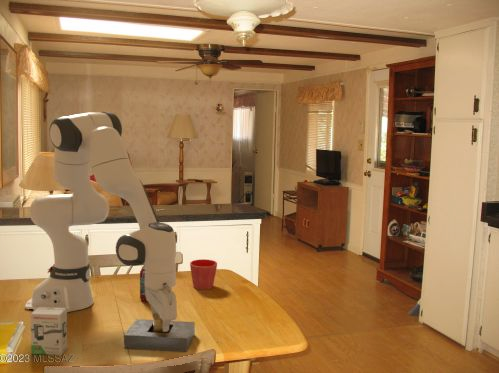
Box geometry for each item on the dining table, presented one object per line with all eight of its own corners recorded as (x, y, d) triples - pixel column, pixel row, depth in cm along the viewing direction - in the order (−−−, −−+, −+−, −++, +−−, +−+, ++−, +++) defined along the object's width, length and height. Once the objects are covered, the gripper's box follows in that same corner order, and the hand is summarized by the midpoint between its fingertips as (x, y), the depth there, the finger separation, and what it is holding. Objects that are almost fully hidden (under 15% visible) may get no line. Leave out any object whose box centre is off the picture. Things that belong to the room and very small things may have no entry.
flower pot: (222, 286, 201) (223, 262, 200) (202, 293, 193) (203, 268, 192) (204, 280, 208) (204, 257, 207) (184, 286, 200) (184, 262, 199)
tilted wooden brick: (154, 344, 147) (154, 319, 146) (153, 339, 151) (153, 314, 150) (168, 343, 148) (168, 318, 147) (166, 338, 152) (166, 313, 151)
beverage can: (136, 300, 183) (136, 268, 182) (146, 294, 190) (146, 263, 188) (152, 303, 181) (152, 270, 179) (162, 297, 187) (162, 265, 186)
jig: (124, 348, 144) (124, 335, 144) (136, 331, 156) (136, 319, 156) (186, 352, 143) (186, 338, 142) (194, 334, 155) (194, 322, 154)
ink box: (30, 354, 139) (28, 313, 138) (37, 346, 144) (36, 306, 143) (61, 355, 139) (60, 313, 138) (68, 347, 144) (67, 307, 143)
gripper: (182, 288, 139) (182, 336, 141) (161, 268, 158) (160, 311, 159) (160, 291, 137) (160, 340, 138) (140, 270, 155) (141, 314, 157)
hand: (160, 324), depth 149 cm, fingers open, 8 cm apart
